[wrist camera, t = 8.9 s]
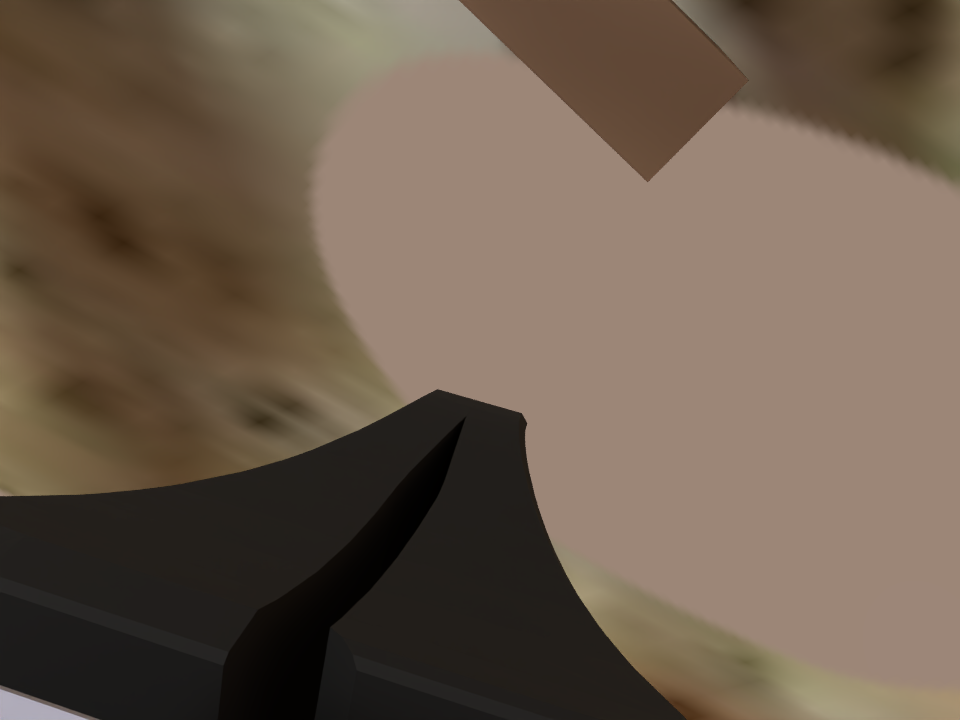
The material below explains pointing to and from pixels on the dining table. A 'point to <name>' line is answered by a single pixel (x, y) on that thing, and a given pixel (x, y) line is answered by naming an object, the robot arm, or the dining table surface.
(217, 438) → the dining table surface
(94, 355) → the dining table surface
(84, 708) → the robot arm
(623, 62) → the domino
